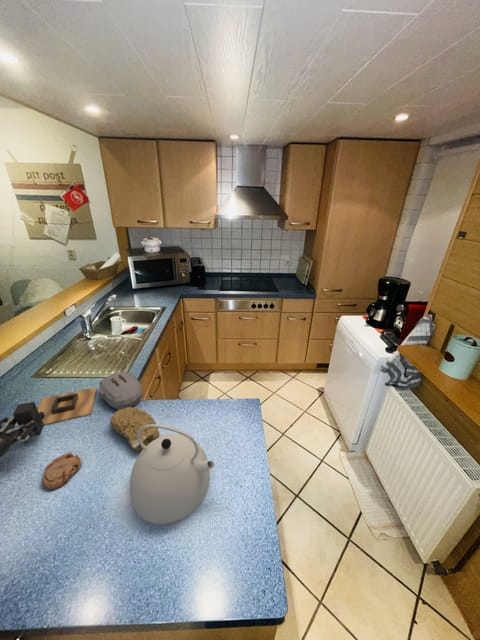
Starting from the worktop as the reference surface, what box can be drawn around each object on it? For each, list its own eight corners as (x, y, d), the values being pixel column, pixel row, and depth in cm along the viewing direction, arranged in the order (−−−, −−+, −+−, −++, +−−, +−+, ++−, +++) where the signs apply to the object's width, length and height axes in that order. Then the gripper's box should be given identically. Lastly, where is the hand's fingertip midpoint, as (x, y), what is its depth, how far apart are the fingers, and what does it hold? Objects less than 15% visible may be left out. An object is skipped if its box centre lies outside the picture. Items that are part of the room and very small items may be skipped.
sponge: (165, 441, 89) (143, 401, 101) (160, 431, 84) (138, 390, 96) (128, 466, 83) (110, 420, 95) (121, 456, 78) (102, 409, 90)
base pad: (29, 428, 91) (27, 423, 90) (43, 399, 105) (41, 394, 104) (91, 414, 98) (89, 409, 97) (96, 388, 112) (95, 383, 110)
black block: (24, 438, 84) (12, 414, 79) (29, 428, 87) (18, 404, 83) (40, 434, 85) (29, 410, 81) (44, 425, 89) (34, 401, 84)
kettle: (225, 455, 83) (224, 404, 73) (202, 536, 63) (197, 479, 53) (156, 441, 87) (147, 391, 78) (114, 512, 67) (94, 456, 58)
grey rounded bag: (95, 394, 108) (116, 418, 96) (91, 378, 105) (112, 402, 93) (129, 378, 119) (151, 398, 107) (126, 363, 115) (149, 382, 103)
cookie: (36, 494, 71) (32, 487, 70) (51, 460, 80) (48, 454, 79) (75, 485, 74) (73, 478, 72) (85, 453, 83) (83, 447, 82)
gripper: (-2, 451, 68) (50, 406, 83) (-46, 443, 70) (12, 401, 85) (9, 469, 71) (56, 423, 87) (-34, 461, 73) (20, 417, 88)
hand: (34, 412), depth 86 cm, fingers closed on black block, 6 cm apart
